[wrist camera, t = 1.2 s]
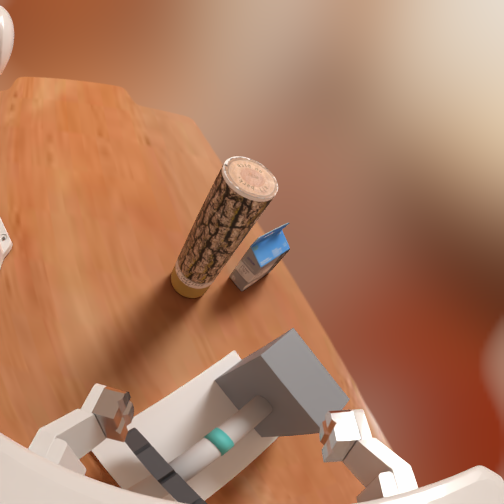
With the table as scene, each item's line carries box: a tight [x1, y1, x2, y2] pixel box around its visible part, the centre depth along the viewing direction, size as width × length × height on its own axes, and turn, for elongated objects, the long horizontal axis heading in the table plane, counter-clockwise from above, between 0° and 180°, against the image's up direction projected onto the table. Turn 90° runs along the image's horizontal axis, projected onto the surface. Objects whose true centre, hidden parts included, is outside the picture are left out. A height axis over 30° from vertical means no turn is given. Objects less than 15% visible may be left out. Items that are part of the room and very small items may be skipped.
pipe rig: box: [92, 328, 349, 502], centre depth 29 cm, size 16×28×16 cm, turn 133°
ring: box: [125, 428, 207, 504], centre depth 23 cm, size 14×2×14 cm, turn 43°
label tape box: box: [229, 223, 290, 291], centre depth 53 cm, size 9×4×12 cm, turn 135°
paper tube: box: [171, 156, 278, 298], centre depth 41 cm, size 7×7×25 cm
